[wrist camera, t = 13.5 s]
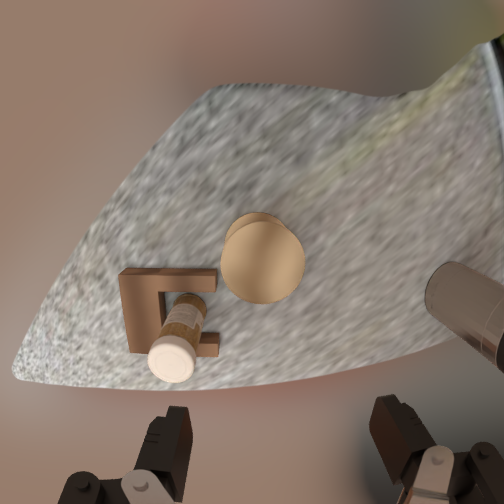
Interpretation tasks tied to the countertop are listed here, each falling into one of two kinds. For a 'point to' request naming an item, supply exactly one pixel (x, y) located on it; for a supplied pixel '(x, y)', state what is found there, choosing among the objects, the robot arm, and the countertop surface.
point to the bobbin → (261, 259)
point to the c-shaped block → (161, 303)
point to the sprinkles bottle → (178, 340)
